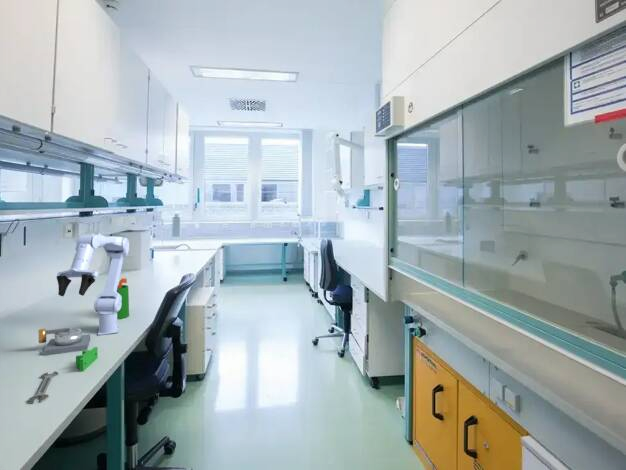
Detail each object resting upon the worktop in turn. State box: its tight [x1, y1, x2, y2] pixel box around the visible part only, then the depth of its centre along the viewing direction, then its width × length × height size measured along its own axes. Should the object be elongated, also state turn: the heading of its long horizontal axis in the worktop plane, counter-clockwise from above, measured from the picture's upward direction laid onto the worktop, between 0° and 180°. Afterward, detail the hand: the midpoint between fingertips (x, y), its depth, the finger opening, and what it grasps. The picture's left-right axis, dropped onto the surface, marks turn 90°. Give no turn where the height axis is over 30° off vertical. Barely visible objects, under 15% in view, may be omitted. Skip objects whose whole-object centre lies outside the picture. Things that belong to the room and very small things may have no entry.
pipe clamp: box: [75, 346, 99, 373], centre depth 128 cm, size 11×4×5 cm, turn 9°
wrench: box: [28, 370, 59, 405], centre depth 112 cm, size 5×2×20 cm
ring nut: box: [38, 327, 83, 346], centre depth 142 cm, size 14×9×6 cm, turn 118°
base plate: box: [43, 333, 91, 357], centre depth 144 cm, size 13×14×2 cm
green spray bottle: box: [117, 277, 130, 320], centre depth 184 cm, size 10×9×20 cm
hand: (71, 295), depth 132 cm, fingers open, 7 cm apart
